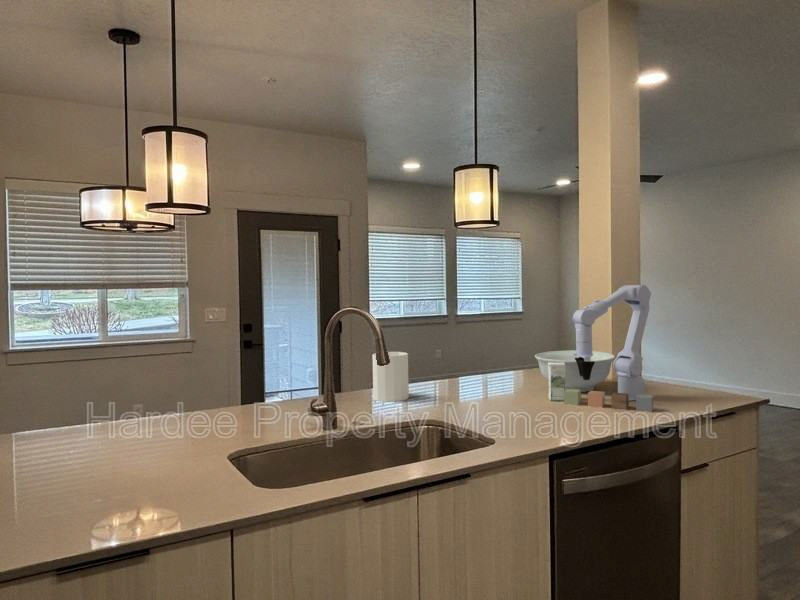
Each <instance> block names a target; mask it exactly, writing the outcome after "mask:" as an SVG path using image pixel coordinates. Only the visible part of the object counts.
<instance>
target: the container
mask: <svg viewBox="0 0 800 600" xmlns="http://www.w3.org/2000/svg"><path fill="white" fill-rule="evenodd" d="M387 352H388V355H389V359H390V363H389V364H388V365H384V366H379V365H377V360H376V353H377V352H375V353H372V354H371V355H372V387H373V388H372V390H373V391H372V392H373V393H372V394H373V395H372V396H373V397H372V398H373V400H374V401H377V402H387V403H389V402H392V403H393V402H394V403H395V402H402V401H403V402H404V401H405V400H408V399H409V398H410V396H409V395H410V394H409V388H410V387H409V384H410V383H409V353H407V352H403V351H387Z"/></svg>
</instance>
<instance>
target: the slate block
mask: <svg viewBox="0 0 800 600" xmlns="http://www.w3.org/2000/svg"><path fill="white" fill-rule="evenodd" d="M635 410H637V411H636V412H644V411H647V412H646V413H653V411H654V395H652V394H645V395H641V394H638V395H637V396H636V400H635Z"/></svg>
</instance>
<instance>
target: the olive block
mask: <svg viewBox="0 0 800 600" xmlns="http://www.w3.org/2000/svg"><path fill="white" fill-rule="evenodd" d="M563 403H564V405H568V404H570V405H571V406H579V405H580V404H582V392H581V390H577V389H566V390H565V391H564V401H563ZM570 405H569V406H570Z"/></svg>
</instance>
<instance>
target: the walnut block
mask: <svg viewBox="0 0 800 600" xmlns="http://www.w3.org/2000/svg"><path fill="white" fill-rule="evenodd" d="M610 396H611V397H610V398H611V409H613V408H614V410H622V409H623V410H622V411H626V410H628V409H629V406H630V405H629V404H630V403H629V402H630V401H629V394H628V393H618V392H615V391H614V392H613V393H612V394H611V395H610ZM627 408H628V409H627Z"/></svg>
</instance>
